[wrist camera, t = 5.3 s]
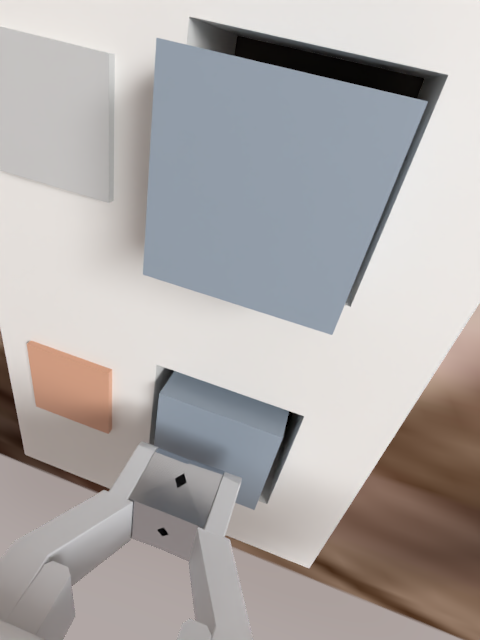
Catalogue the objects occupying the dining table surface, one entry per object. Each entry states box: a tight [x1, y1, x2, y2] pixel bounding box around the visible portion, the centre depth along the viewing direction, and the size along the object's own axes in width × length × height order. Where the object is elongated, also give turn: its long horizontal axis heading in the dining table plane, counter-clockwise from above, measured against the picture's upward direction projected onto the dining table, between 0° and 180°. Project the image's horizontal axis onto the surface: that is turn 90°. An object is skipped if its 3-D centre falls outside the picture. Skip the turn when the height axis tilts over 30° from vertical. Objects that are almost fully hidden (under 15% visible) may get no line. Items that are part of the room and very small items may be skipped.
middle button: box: [143, 38, 428, 335], centre depth 7 cm, size 4×4×3 cm
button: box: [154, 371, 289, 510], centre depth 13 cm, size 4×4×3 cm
